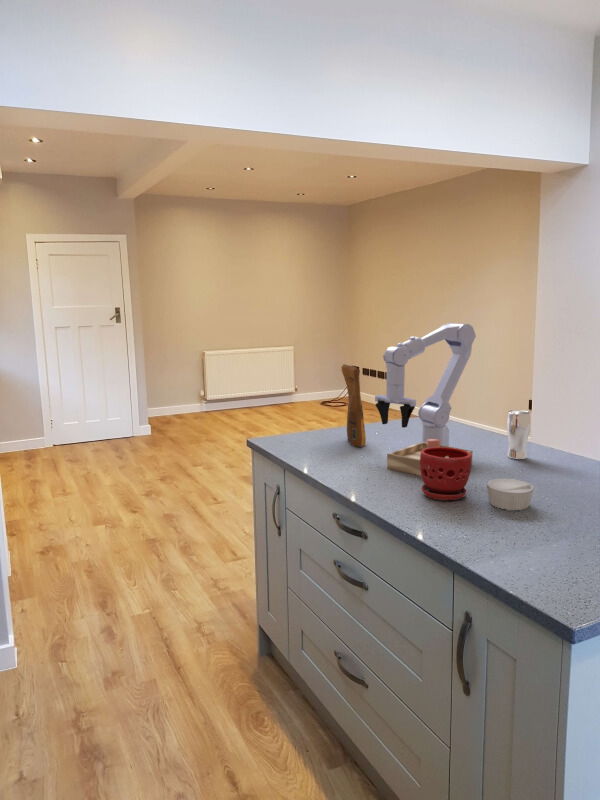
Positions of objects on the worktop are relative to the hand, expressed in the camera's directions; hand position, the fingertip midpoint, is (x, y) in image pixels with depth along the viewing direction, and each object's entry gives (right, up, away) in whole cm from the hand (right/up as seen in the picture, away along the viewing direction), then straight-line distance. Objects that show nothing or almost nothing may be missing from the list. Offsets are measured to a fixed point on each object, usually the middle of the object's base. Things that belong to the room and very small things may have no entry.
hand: (394, 425), depth 200 cm
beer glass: (+39, -11, -1) cm, 41 cm away
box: (+9, -12, -10) cm, 19 cm away
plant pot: (+8, -17, -37) cm, 41 cm away
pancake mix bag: (-11, -7, +22) cm, 25 cm away
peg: (+10, -12, -9) cm, 18 cm away
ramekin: (+22, -19, -45) cm, 53 cm away
